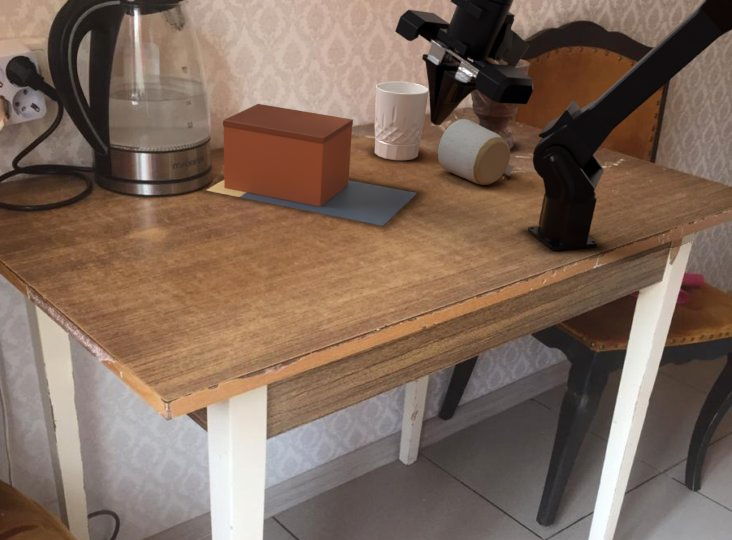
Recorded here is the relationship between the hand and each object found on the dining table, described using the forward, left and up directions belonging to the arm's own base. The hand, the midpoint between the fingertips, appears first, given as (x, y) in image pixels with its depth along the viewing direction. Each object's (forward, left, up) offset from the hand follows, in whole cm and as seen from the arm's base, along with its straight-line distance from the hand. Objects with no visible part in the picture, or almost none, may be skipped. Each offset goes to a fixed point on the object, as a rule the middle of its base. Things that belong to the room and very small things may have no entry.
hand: (435, 123), depth 106 cm
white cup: (+25, -6, -12) cm, 28 cm away
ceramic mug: (+13, -14, -12) cm, 22 cm away
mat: (+10, +12, -11) cm, 20 cm away
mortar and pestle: (+27, -22, -12) cm, 36 cm away
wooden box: (+13, +15, -11) cm, 23 cm away
